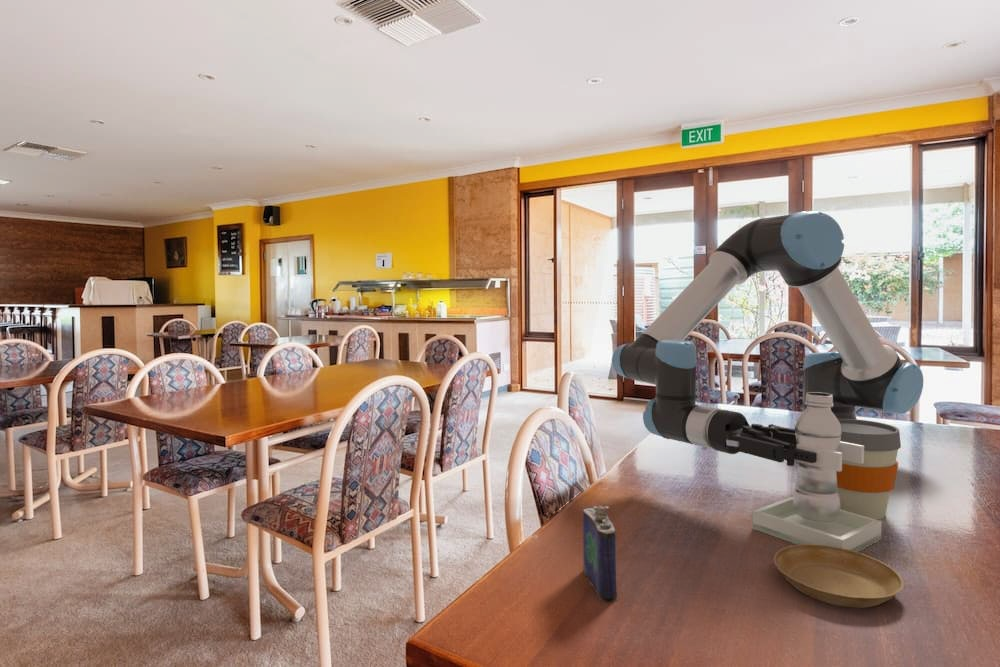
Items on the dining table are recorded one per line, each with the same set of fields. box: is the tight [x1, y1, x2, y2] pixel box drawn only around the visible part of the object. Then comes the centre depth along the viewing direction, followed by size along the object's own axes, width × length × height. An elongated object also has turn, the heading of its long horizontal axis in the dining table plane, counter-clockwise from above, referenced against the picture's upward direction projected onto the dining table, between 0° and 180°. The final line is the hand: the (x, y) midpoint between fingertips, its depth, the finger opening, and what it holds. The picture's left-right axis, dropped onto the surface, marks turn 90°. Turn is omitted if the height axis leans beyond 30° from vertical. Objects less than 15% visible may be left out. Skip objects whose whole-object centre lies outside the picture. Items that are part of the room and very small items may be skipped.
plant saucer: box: [773, 544, 904, 609], centre depth 78 cm, size 15×15×3 cm
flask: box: [582, 505, 618, 603], centre depth 78 cm, size 9×3×11 cm, turn 8°
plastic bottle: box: [793, 392, 842, 522], centre depth 93 cm, size 6×7×20 cm
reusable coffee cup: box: [836, 419, 902, 520], centre depth 103 cm, size 13×13×15 cm
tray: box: [752, 495, 883, 553], centre depth 94 cm, size 12×14×3 cm
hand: (851, 458), depth 89 cm, fingers closed on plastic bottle, 6 cm apart
